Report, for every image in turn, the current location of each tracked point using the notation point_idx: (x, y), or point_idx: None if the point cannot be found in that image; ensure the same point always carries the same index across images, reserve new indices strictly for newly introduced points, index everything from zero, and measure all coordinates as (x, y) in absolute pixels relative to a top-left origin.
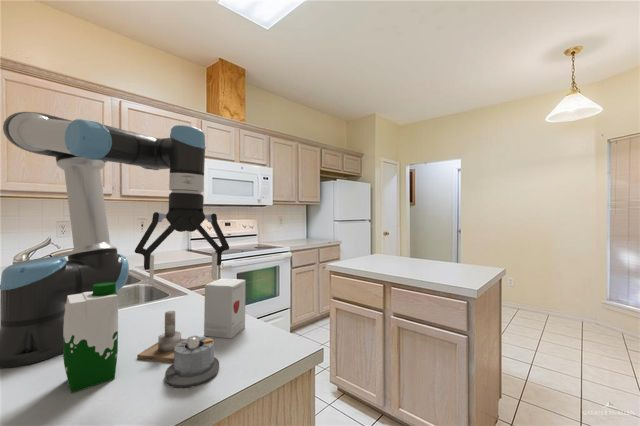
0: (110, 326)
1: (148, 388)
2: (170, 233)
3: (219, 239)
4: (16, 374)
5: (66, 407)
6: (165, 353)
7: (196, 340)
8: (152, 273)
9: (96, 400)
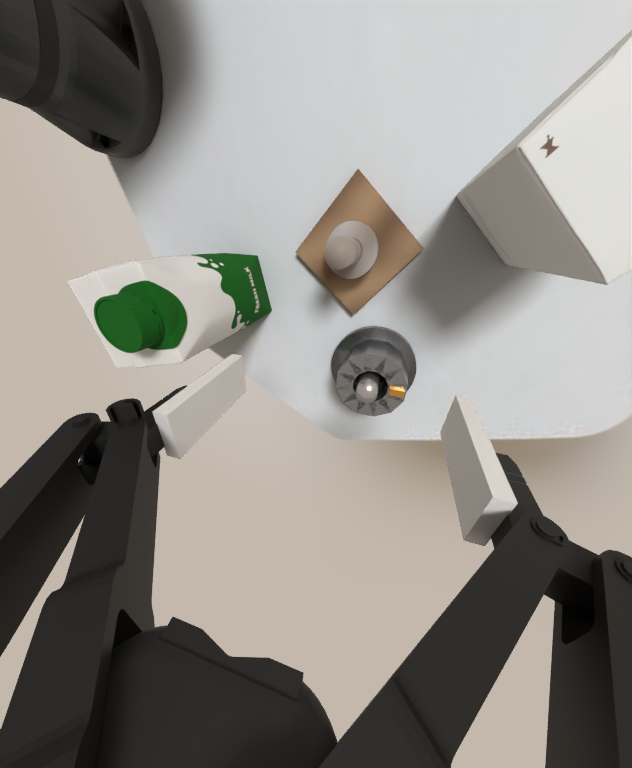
0: (217, 340)
1: (313, 365)
2: (151, 612)
3: (579, 663)
4: (136, 196)
5: (235, 347)
6: (342, 280)
7: (369, 401)
8: (222, 411)
9: (260, 353)
